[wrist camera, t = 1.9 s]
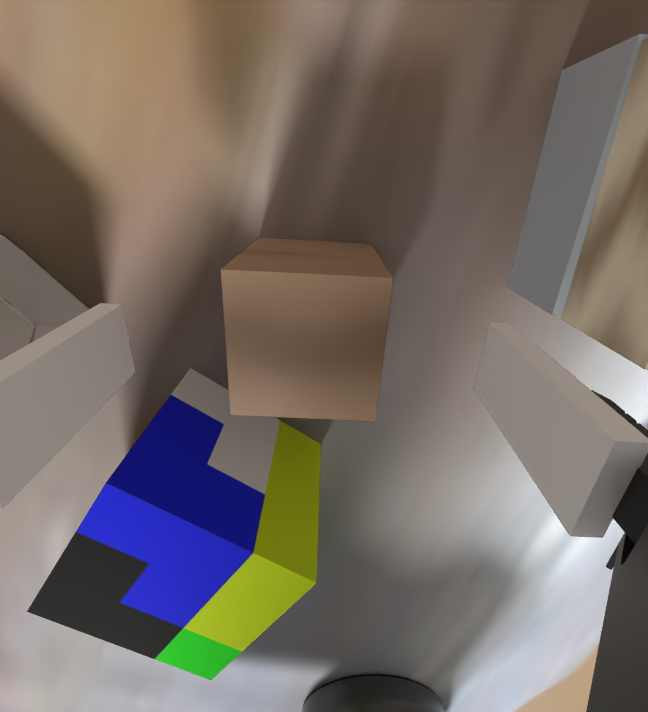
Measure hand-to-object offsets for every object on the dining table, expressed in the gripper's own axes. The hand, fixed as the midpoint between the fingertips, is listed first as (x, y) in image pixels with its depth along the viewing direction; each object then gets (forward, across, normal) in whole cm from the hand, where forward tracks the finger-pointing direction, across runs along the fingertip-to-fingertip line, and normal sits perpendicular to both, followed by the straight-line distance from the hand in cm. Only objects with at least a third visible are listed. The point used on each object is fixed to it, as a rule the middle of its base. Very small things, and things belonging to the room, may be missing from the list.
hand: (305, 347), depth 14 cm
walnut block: (+8, 0, 0) cm, 8 cm away
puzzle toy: (+8, +6, +12) cm, 16 cm away
